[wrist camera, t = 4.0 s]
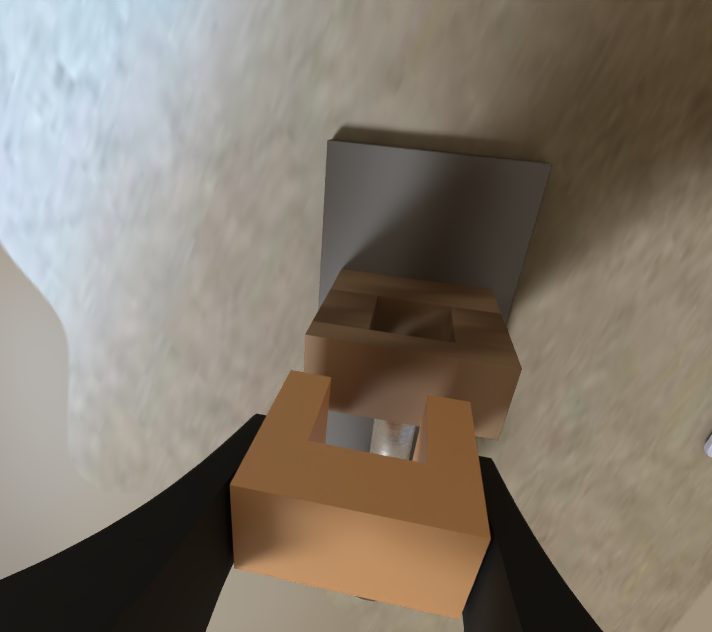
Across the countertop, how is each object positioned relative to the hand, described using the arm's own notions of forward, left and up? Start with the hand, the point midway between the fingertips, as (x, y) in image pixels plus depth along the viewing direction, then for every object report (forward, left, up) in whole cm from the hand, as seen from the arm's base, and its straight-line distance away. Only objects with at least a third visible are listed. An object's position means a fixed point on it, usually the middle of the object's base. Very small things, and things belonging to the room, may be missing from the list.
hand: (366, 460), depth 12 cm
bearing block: (-1, +1, -10) cm, 10 cm away
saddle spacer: (0, 0, -2) cm, 2 cm away
